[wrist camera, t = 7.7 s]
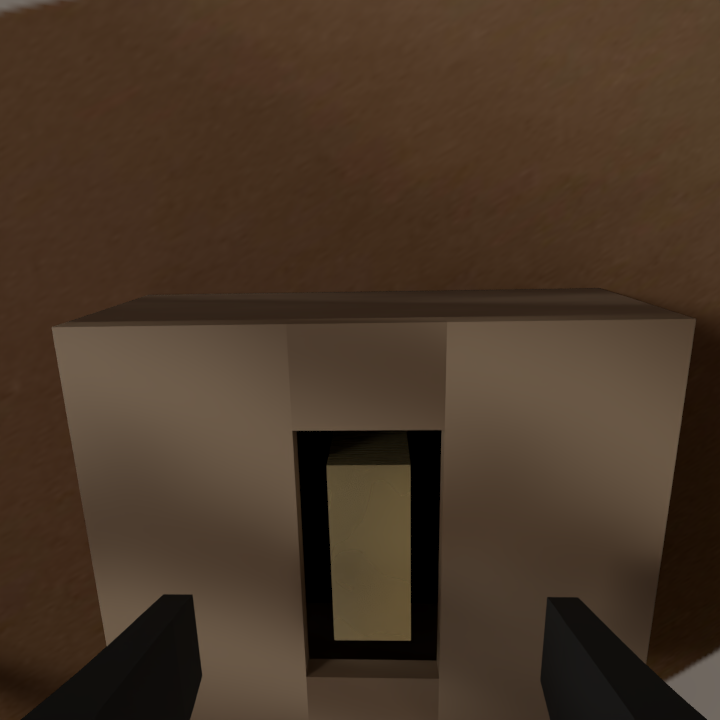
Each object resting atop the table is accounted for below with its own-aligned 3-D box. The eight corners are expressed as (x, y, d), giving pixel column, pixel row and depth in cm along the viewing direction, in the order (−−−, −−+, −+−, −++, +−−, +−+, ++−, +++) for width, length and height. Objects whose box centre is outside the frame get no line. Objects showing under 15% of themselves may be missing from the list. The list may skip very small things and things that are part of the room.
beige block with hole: (567, 619, 19) (632, 756, 14) (187, 615, 20) (124, 746, 15) (599, 288, 16) (696, 318, 11) (148, 294, 17) (51, 327, 12)
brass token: (402, 531, 19) (411, 640, 14) (346, 532, 19) (334, 640, 14) (402, 397, 17) (410, 465, 13) (341, 397, 17) (326, 465, 13)
